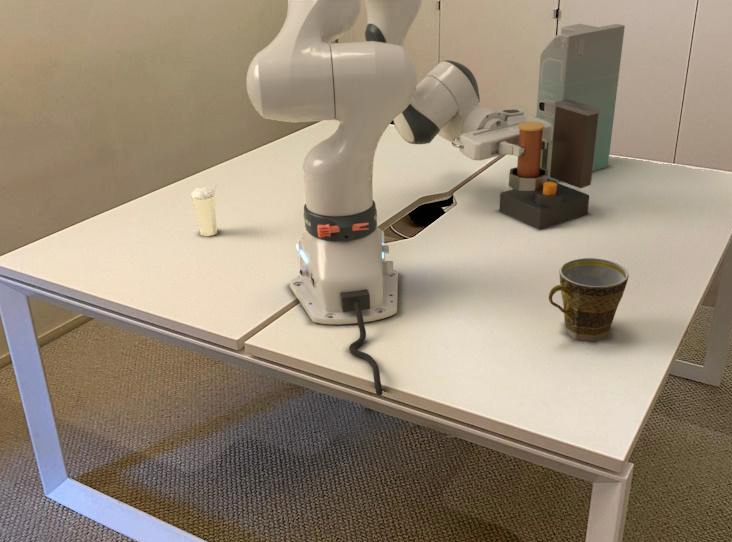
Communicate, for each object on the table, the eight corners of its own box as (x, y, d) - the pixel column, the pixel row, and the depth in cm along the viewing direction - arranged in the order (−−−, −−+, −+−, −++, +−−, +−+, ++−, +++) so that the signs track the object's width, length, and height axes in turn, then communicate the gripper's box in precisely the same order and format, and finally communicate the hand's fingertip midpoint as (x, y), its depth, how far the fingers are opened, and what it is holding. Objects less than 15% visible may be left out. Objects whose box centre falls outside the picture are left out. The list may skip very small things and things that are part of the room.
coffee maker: (501, 183, 168) (505, 107, 160) (550, 169, 174) (556, 96, 166) (542, 200, 160) (548, 121, 151) (591, 185, 166) (600, 108, 157)
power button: (539, 193, 164) (540, 183, 162) (549, 190, 165) (550, 180, 164) (549, 197, 162) (549, 187, 161) (559, 194, 163) (559, 184, 162)
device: (583, 158, 198) (598, 20, 181) (608, 166, 192) (625, 25, 176) (531, 172, 190) (541, 30, 174) (555, 181, 185) (568, 36, 168)
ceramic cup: (591, 310, 135) (598, 252, 130) (634, 336, 128) (643, 276, 122) (525, 330, 130) (529, 271, 125) (566, 359, 123) (572, 298, 117)
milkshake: (219, 238, 164) (212, 189, 159) (193, 237, 165) (185, 187, 160) (227, 229, 168) (220, 180, 162) (202, 228, 169) (194, 179, 163)
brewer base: (499, 211, 172) (500, 182, 168) (546, 197, 177) (548, 169, 174) (541, 230, 163) (543, 200, 159) (589, 215, 168) (593, 186, 165)
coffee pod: (544, 176, 164) (548, 127, 159) (519, 179, 164) (522, 130, 158) (536, 168, 168) (539, 120, 163) (512, 170, 168) (514, 122, 162)
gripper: (447, 126, 166) (492, 142, 156) (525, 107, 175) (572, 122, 165) (446, 157, 169) (490, 176, 160) (523, 138, 178) (569, 154, 169)
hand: (533, 148), depth 162 cm, fingers closed on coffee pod, 4 cm apart
